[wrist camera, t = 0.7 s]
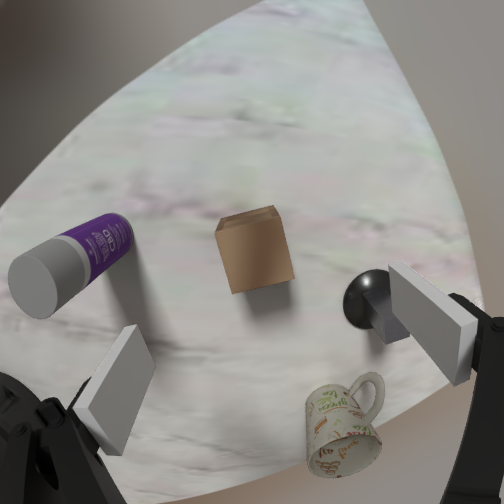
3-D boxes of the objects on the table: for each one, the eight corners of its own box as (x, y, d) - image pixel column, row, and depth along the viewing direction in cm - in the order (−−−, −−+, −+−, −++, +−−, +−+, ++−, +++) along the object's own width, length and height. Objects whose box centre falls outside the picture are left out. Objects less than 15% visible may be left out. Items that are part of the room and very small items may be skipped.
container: (142, 232, 31) (70, 288, 17) (117, 265, 32) (44, 333, 18) (109, 203, 31) (20, 238, 16) (86, 236, 31) (-1, 287, 17)
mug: (284, 414, 38) (293, 473, 29) (337, 341, 35) (363, 396, 26) (336, 427, 39) (352, 481, 30) (389, 361, 36) (421, 412, 27)
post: (346, 334, 35) (365, 369, 28) (338, 278, 33) (359, 307, 26) (401, 316, 35) (428, 347, 28) (397, 262, 33) (428, 285, 26)
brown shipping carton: (235, 268, 33) (232, 294, 26) (220, 218, 31) (214, 233, 25) (285, 255, 32) (294, 278, 26) (273, 205, 31) (280, 216, 25)
